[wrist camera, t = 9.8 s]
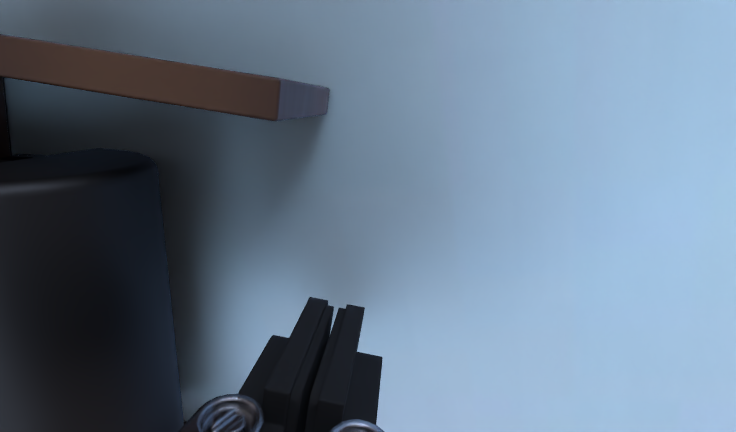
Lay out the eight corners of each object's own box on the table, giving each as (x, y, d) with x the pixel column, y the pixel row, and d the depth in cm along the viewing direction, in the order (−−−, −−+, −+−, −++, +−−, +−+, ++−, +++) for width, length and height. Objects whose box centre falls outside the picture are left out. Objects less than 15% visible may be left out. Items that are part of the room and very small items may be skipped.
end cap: (224, 402, 16) (98, 610, 9) (58, 383, 16) (-171, 569, 10) (208, 150, 13) (11, 196, 7) (8, 138, 14) (-357, 170, 7)
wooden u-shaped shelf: (330, 88, 12) (280, 78, 7) (286, 456, 16) (236, 604, 11) (-24, 32, 13) (-286, -11, 8) (20, 402, 17) (-133, 521, 12)
